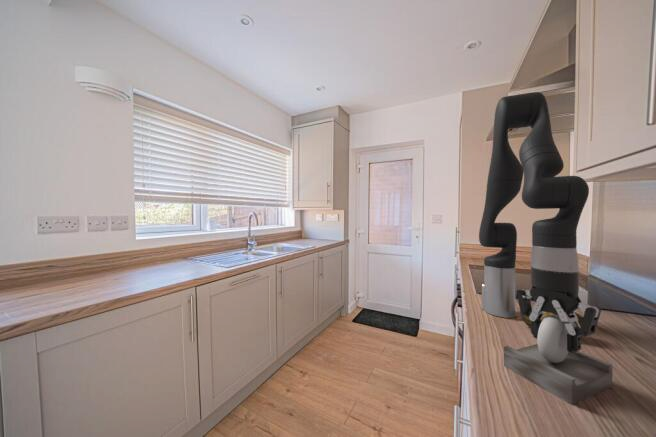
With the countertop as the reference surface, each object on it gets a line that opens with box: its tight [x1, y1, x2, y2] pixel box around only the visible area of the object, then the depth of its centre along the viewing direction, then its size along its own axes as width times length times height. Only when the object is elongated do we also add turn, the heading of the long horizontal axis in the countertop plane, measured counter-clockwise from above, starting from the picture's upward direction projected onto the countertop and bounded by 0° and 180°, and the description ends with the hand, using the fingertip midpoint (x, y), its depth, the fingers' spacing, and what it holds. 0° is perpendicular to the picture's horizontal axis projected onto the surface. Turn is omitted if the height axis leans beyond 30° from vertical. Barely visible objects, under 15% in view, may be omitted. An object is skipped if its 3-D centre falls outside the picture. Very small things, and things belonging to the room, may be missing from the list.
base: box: [503, 343, 613, 405], centre depth 51 cm, size 12×14×4 cm
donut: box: [536, 315, 569, 363], centre depth 51 cm, size 10×4×10 cm, turn 119°
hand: (554, 343), depth 51 cm, fingers open, 5 cm apart
